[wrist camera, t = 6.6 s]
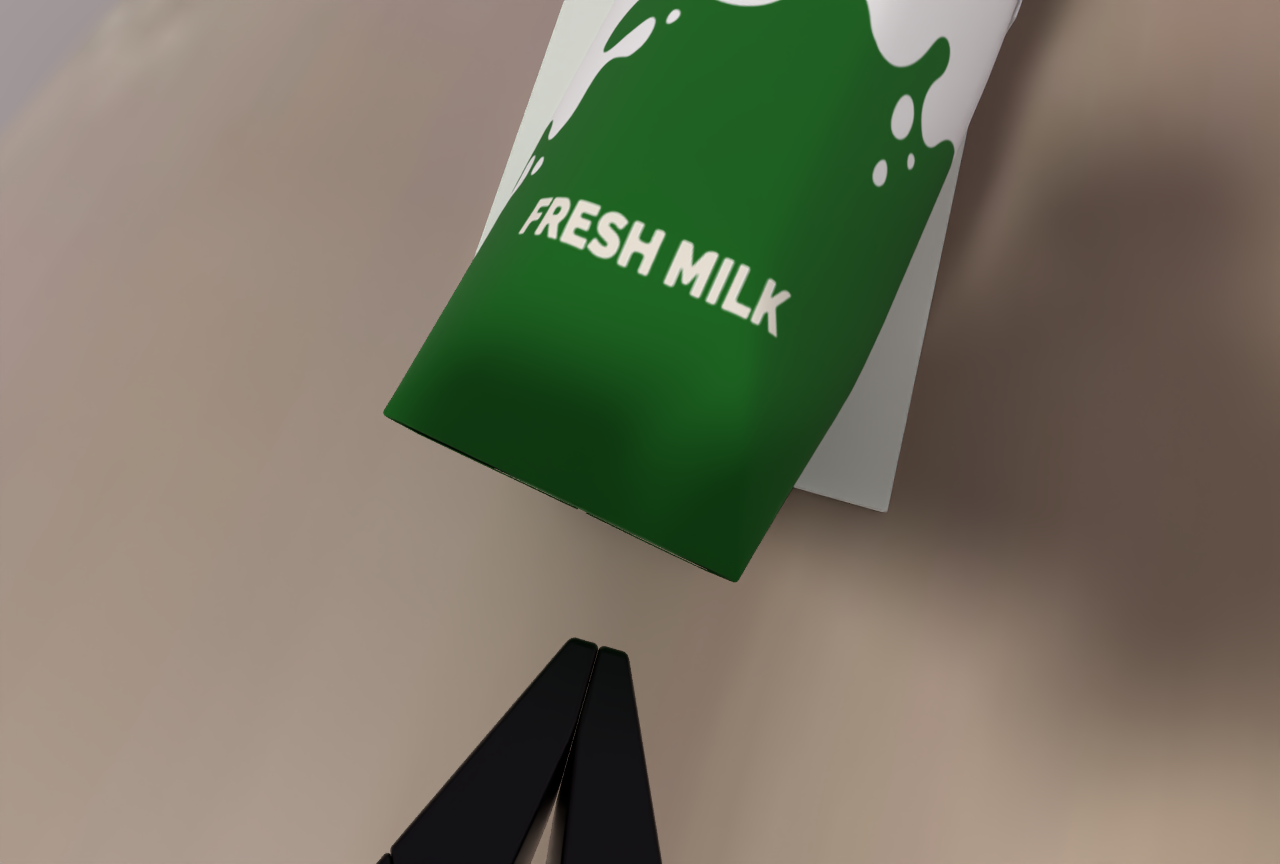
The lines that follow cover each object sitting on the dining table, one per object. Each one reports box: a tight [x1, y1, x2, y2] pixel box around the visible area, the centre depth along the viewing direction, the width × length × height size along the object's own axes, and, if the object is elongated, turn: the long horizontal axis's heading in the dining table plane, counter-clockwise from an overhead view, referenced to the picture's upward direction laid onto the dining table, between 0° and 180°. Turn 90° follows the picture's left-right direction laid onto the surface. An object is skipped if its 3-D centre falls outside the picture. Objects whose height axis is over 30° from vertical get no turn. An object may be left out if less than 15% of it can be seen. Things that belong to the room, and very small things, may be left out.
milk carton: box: [383, 0, 1022, 582], centre depth 16 cm, size 9×9×20 cm
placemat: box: [474, 0, 968, 512], centre depth 21 cm, size 18×14×1 cm
